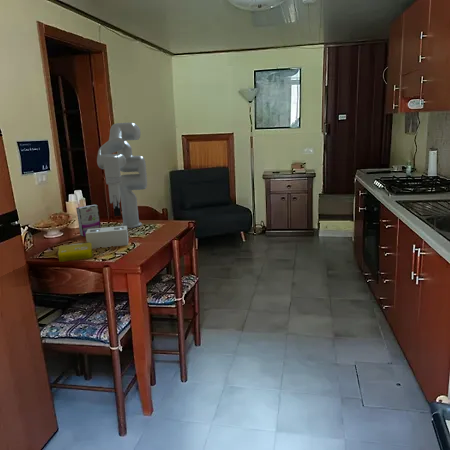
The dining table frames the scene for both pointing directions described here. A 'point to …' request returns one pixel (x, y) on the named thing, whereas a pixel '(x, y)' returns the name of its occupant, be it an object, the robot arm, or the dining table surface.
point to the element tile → (75, 252)
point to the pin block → (107, 237)
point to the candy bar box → (88, 218)
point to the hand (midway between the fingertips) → (117, 215)
